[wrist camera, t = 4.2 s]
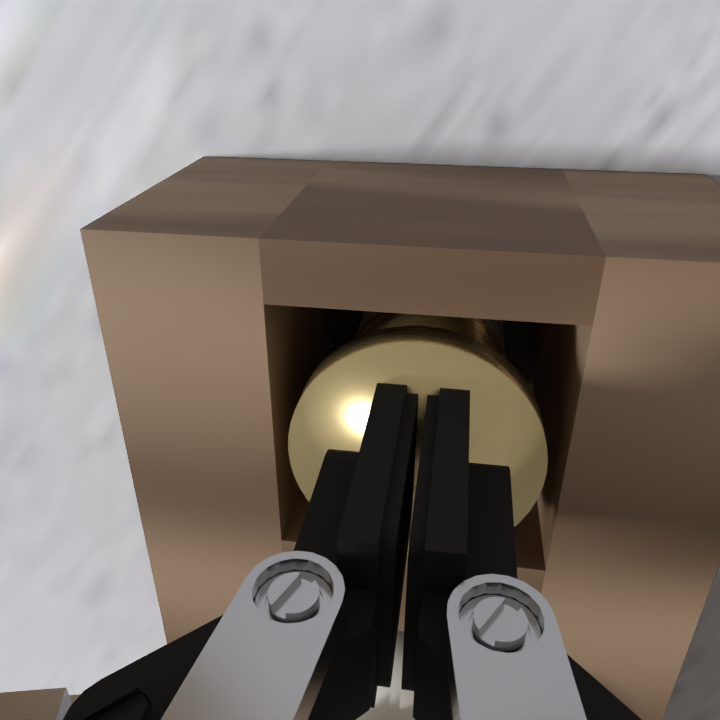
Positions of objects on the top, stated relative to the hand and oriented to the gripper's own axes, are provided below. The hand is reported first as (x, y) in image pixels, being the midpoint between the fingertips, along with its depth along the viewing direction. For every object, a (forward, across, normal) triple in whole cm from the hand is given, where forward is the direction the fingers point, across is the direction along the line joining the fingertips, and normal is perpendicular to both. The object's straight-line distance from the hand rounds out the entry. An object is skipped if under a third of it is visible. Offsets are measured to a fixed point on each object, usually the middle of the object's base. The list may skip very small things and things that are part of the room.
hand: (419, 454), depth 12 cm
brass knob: (+6, 0, 0) cm, 6 cm away
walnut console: (+6, 0, +8) cm, 10 cm away
